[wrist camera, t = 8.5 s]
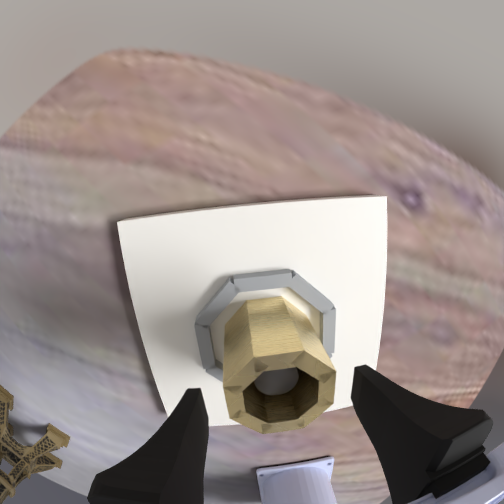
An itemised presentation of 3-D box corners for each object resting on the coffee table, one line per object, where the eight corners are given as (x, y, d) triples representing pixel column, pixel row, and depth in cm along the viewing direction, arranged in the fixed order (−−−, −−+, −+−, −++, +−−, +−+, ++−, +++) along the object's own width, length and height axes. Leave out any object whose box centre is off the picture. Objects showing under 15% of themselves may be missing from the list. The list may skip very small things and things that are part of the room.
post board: (363, 390, 21) (391, 437, 16) (174, 414, 21) (163, 469, 15) (375, 194, 18) (430, 203, 12) (125, 218, 17) (80, 236, 11)
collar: (306, 361, 18) (331, 422, 13) (232, 370, 18) (233, 436, 12) (305, 293, 17) (338, 344, 11) (221, 302, 17) (217, 360, 11)
